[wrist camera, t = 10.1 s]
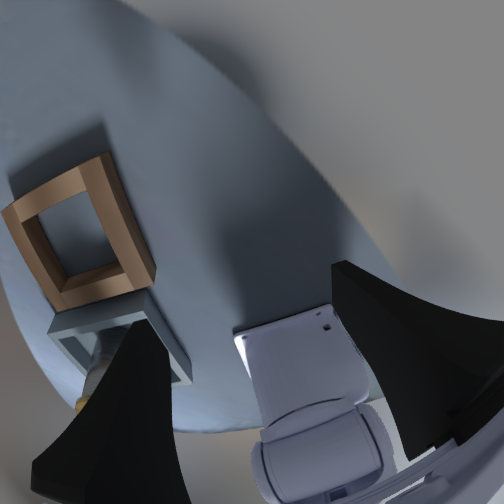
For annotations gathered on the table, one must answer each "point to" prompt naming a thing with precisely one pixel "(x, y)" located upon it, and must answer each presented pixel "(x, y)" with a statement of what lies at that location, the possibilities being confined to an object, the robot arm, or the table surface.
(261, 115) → the table surface
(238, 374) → the table surface
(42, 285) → the socket block
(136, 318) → the tray
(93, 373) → the jar with gold lid
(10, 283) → the table surface
